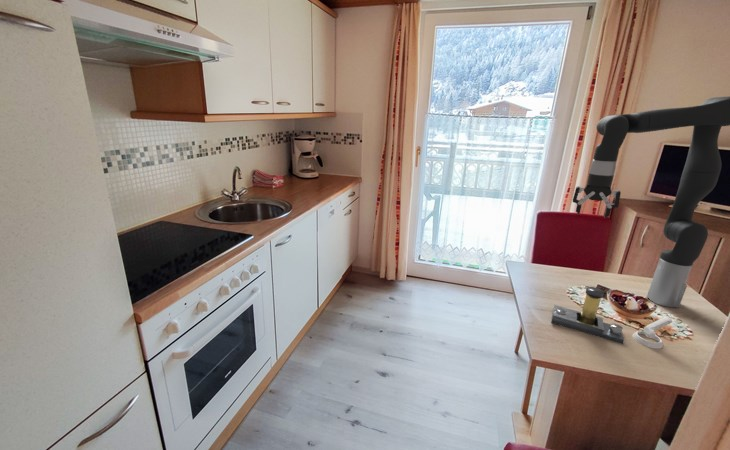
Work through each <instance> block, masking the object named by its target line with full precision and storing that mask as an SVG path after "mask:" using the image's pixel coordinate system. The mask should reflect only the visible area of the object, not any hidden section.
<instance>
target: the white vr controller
mask: <svg viewBox="0 0 730 450" xmlns="http://www.w3.org/2000/svg"><path fill="white" fill-rule="evenodd" d="M672 323H673V319H671V318H670V316H668V315H667V316H664V317H662V318H660V319H657V320H655V321H654V322H653V321H652V322H651V323H649V324H647V325H646V326H644V327H643V330H637V331H635V332H634V333H633V334H632V338H633V340H634V341H636V342H637V343H639V344H641V345H642V346H645V347H647V348H651V349H662V348H664V344H663V341H662V338H660V337H659V336H658V335H656V331H657V330H659V329H661V328H663V327H666V326H668V325H670V324H672ZM640 335H645V337H647V338H648V339H654V340H656V341H657V342H655V341H651V340H648V339H645V338H643V337H641V336H640Z"/></svg>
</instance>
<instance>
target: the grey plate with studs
mask: <svg viewBox="0 0 730 450" xmlns="http://www.w3.org/2000/svg"><path fill="white" fill-rule="evenodd" d="M581 312H582V311H578V310H575V309H571V308H568V307H563V306H559V305H557V304H554V305H553V310H552V315H551V324H554V325H558V326H561V327H563V328H568V329H570V330H574V331H577V332H581V333H584V334H587V335H591V336H595V337H598V338H601V339H603V340H607V341H611V342H614V343H617V344H621V345H623V344H624V342H625V341H624V340H625V338H624V334H623V326H622V325H620V324H617V323H607V322H604V318H603V317H601V316H600V317H599V316H597V315H596V317H595V320H594V324H593V325H590V324H587V323H583V322H580V321H579V320H580V316H581Z"/></svg>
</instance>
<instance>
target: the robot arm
mask: <svg viewBox="0 0 730 450" xmlns="http://www.w3.org/2000/svg"><path fill="white" fill-rule="evenodd" d="M728 126H730V96H717V97H710V98H708V99H706V100H704V101H703V102H701V104H700V105H695V106H687V107H673V108H659V109H651V110H645V111H640V112H635V113H625V114H624V113H623V114H613V115H607V116H603V117H602V118H601V119H600V120H599V121H598V122H597V125H596V131H597V133H598V134H600V135H601V136H603V137H602V139H601V142H600V143H599V144H597V145H596V146H595V150H594V153H593V158H592V160H591V161H592V162H591V165H590V167H589V170H588V171H589V172H588V176H587V177H588V178H587V180H586V186H585V187H582V186H576V188H575V190H574V194H573V197H572V203H575V204H576V209H575V212H576V213H577V215H580V214H581V209H582V204H583V203H585V202H586V201H588V200H590V201H598V202H601V201H602V202H604V204H605V206H606V207H605V211H604V215H603V218H604V219H607V218H608V217H610V215H611V210H612V209H613V208H615V209H617V208H619V205H620V199H621V190H619V189H617V190H612V185H613V180H614V177H615V173H616V168H617V160H618V157H619V152H620V149H621V147H622V145H623V143H624V141H625V139H626V137H627V135H628V134H629V133H632V134H634V133H635V134H641V133H650V132H657V131H664V130H671V129H672V130H673V129H678V128H685V127H693V128H692V129H693V130H692V135H691V136H692V137H691V141H690V145H689V149H688V152H687V157H686V161H685V164H684V167H683V170H682V173H681V175H680V176H681V177H680V181H679V185H678V189H677V192H676V195H675V197H674V202H673V204H672V207H671V210H670V212H669V214H668V215H667V216H668V217H667V219H666V222H665V224H664V227H663V235H664V237H665V238H667V240H669V241H671V242H674V246H673V248H672V249H665V250H662V251H661V253H660V255H659V256H660V257H659V259H658V261H657V266H656V268H655V271H654V274H653V276H652V280H651V282H650V286H649V288H648V291H647V295H646V298H647V299H648V298H649V299H651V300H652V301H653V302H652V301H651V302H652V303H654V304H657V305H659V306H663V307H669V308H680V306H681V303H682V300H683V298H684V295H685V293H686V289H687V287H688V284H687V281H688V277H689V276H690V272H691V270H692V267H693V265H694V262H695V261H696V260H697V259H698V258H699V257H700V255H701V253H702V251H703V248H704V246H705V244H706V242H707V240H708V236H709V231H708V228H707V227H706V226H705V225H704V224H702V223H699V222H696V221H693V216H694V212H695V210H696V208H697V206H698V204H699V203H700V202H701V201H702V200H704V198H705V197H707V196H708V195H709V194H710V193H711V192H713V190H714V188H715V187H716V185H717V183H718V181H719V177H720V174H721V170H722V159H721V154H720V151H719V150H720V149H719V146H718V145H719V144H718V142H719V137H720V133H721V129H722V127H728ZM583 191H584V194H585V195H583V196H582V197H581V198H579V197H578V196H579V194H581V193H582V192H583ZM611 194H612V196H613V197H614V202H613V203H611V202H610V201H609V199H608V197H609V196H610V195H611ZM578 198H579V199H578ZM649 299H648V300H649Z"/></svg>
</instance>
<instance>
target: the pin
mask: <svg viewBox="0 0 730 450" xmlns="http://www.w3.org/2000/svg"><path fill="white" fill-rule="evenodd" d="M604 295H605V291H604V290H603V289H600V288H599V287H594V286H586V289H585V298H584V302H583V306H582V310H581V311H580V312H581V316H580V320H579V321H580V322H583V323H587V324H590V325H593V324H594V320H595V317H596V316H597V314H598V309H599V305H600V303H601V299H603V298H604Z"/></svg>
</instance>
